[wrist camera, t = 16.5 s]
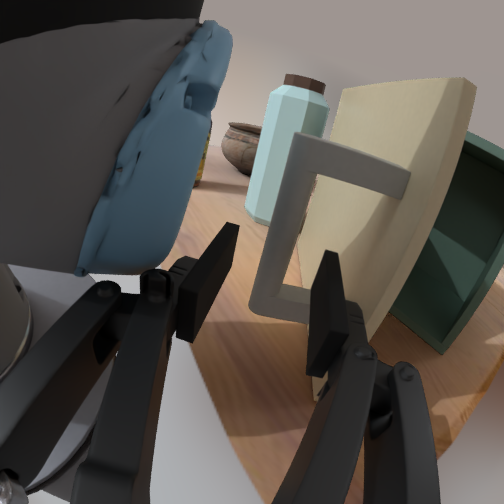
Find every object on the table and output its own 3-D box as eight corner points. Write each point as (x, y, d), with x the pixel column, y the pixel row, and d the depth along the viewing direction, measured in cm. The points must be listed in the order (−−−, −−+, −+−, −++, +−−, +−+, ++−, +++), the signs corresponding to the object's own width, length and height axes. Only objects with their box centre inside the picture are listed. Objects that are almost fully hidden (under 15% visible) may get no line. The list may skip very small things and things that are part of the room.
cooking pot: (211, 157, 82) (218, 118, 76) (269, 165, 88) (278, 128, 82) (225, 183, 62) (236, 130, 56) (301, 193, 68) (314, 146, 62)
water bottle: (243, 225, 46) (280, 68, 33) (242, 202, 54) (271, 73, 42) (302, 235, 47) (346, 88, 35) (292, 211, 56) (325, 88, 43)
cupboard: (442, 355, 27) (540, 172, 15) (302, 246, 44) (349, 90, 32) (466, 308, 38) (528, 182, 26) (360, 233, 55) (400, 118, 42)
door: (228, 389, 20) (331, 13, 8) (252, 235, 43) (292, 73, 31) (324, 402, 20) (477, 86, 8) (303, 246, 43) (350, 91, 31)
